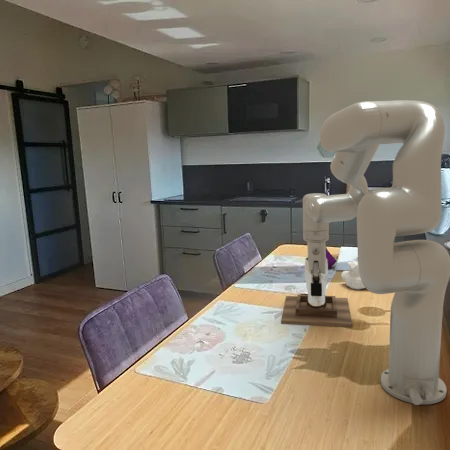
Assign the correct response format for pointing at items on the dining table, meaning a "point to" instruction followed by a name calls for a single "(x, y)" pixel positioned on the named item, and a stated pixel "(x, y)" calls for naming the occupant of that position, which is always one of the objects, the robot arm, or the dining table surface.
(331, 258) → the perfume bottle
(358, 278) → the bust
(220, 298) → the dining table surface
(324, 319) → the walnut stand
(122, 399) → the dining table surface
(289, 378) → the dining table surface
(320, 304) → the white piece
